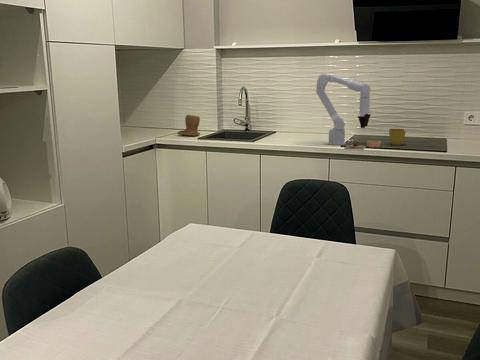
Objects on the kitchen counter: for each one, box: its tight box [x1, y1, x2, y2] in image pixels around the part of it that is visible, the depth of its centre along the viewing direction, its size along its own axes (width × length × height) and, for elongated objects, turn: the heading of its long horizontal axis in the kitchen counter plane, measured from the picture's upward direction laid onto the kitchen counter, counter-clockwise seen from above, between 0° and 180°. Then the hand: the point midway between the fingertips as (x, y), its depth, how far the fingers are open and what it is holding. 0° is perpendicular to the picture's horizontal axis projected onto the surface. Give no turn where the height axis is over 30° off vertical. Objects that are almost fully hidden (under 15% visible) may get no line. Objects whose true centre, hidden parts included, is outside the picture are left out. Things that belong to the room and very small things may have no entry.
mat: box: [343, 144, 368, 151], centre depth 284 cm, size 11×11×1 cm
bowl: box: [366, 139, 382, 148], centre depth 286 cm, size 8×8×3 cm
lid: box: [347, 139, 364, 148], centre depth 283 cm, size 9×9×4 cm
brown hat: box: [176, 114, 201, 137], centre depth 344 cm, size 15×12×15 cm
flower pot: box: [388, 128, 407, 146], centre depth 291 cm, size 9×9×9 cm
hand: (364, 127), depth 293 cm, fingers open, 7 cm apart
